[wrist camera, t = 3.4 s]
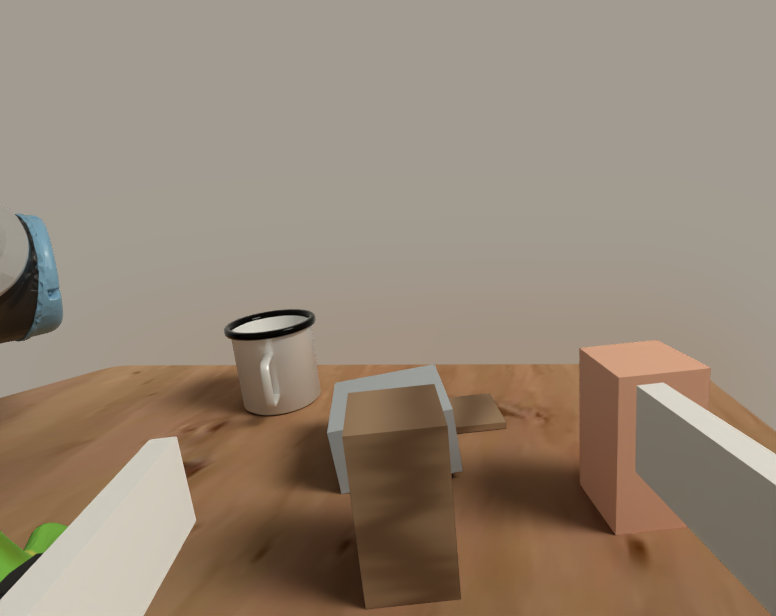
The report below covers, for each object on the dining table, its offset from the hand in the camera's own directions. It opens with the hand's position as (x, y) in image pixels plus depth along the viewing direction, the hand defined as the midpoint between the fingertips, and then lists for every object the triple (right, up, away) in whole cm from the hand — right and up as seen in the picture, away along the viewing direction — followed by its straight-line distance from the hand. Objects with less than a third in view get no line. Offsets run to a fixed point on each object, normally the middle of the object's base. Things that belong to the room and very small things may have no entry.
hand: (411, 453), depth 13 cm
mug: (-12, -6, +37) cm, 40 cm away
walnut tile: (+7, -6, +30) cm, 32 cm away
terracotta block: (+15, -8, +17) cm, 24 cm away
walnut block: (+1, -11, +13) cm, 17 cm away
